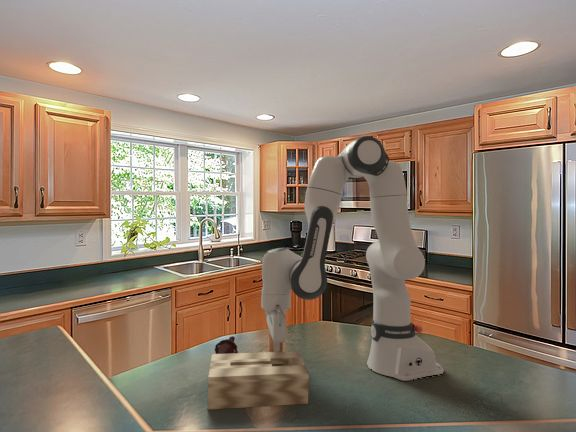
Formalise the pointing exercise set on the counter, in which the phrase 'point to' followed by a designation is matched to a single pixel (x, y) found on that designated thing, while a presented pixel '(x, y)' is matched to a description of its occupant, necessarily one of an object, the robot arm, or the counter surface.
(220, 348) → the icecream
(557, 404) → the counter surface
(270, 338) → the wooden block
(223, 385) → the keyhole plate
